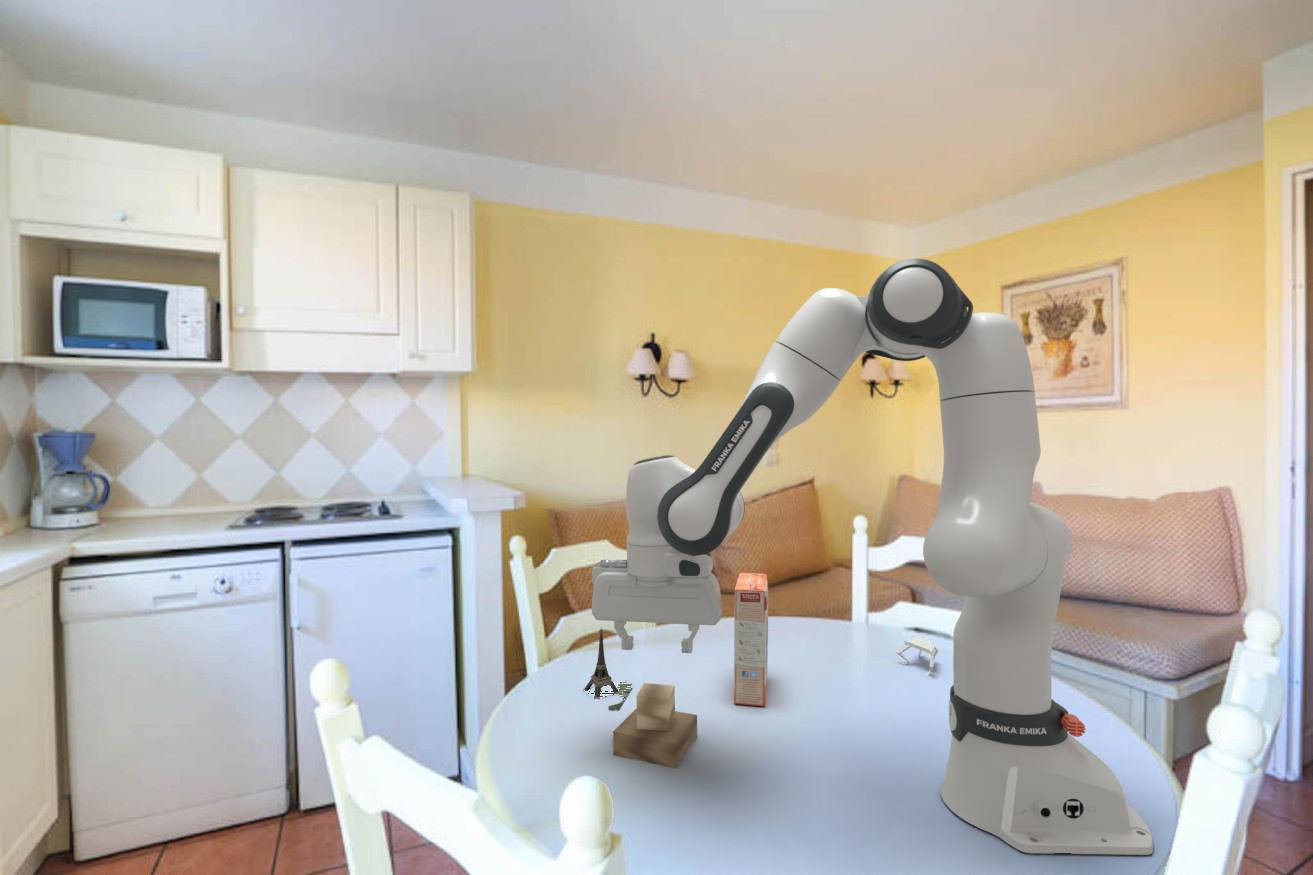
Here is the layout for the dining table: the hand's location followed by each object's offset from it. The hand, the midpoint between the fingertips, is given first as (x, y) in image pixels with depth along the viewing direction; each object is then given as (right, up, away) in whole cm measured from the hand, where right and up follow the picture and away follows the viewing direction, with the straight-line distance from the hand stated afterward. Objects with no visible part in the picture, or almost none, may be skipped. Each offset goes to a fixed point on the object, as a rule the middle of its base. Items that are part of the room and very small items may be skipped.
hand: (657, 650), depth 96 cm
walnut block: (0, -15, 0) cm, 15 cm away
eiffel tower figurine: (-10, -16, +21) cm, 28 cm away
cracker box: (+18, -15, +21) cm, 31 cm away
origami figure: (+55, -15, +32) cm, 65 cm away
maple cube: (0, -11, 0) cm, 11 cm away
